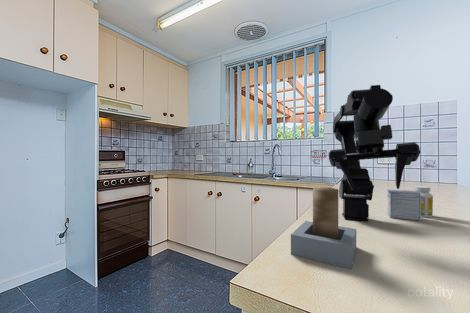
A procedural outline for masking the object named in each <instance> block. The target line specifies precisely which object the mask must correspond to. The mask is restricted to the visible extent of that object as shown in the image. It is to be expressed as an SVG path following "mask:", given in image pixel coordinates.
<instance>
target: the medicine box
mask: <svg viewBox="0 0 470 313" xmlns="http://www.w3.org/2000/svg"><path fill="white" fill-rule="evenodd" d="M387 215H388V216H389V218H390V219H400V220H411V221H421V219H422V217H421V193H419V192H417V191H415V190H409V189H408V190H407V189H406V190H405V189H387Z"/></svg>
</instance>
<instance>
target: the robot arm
mask: <svg viewBox="0 0 470 313" xmlns="http://www.w3.org/2000/svg"><path fill="white" fill-rule="evenodd" d="M393 99H394V97H393V94H392V93H391V92H389V90H386V89H384V88H382V87H381V84H375V85H373V84H372V85H370V86H369V88H367V89H354V90H351V91H350V93H349V94H348V95H347V99H346V103H345V104H343V105H340V110H339V112H338V113H337V114H336V115H335V116H334V118H333V123H332V133H333V134H334V136H335V139H336V140H337V141H338V142H339V143H340V146H341V148H340V149H338V148H337V149H331V150H330V151H329V152H328V160H329V163H330V166H331V167H335V168H336V169H338V170H341V172H342V173H343V175H342V178H341V181H340V183H339V189H338V198H340V199H341V200H342V213H341V215H342V217H343V219H344V220H353V221H365V222H366V221H367V222H369V217H370V216H369V214H370V213H369V211H370V206H369V204H368V202H367V201H372V200H373V193H374V189H375V185H374V184H373V181H372V180H371V178H370V174H369V170H368V169H367V168H366V167H365V168H363V167H362V166H361V162H360V161H361V160H375V159H390V158H391V159H393V158H395V163H394V170H395V175H394V176H395V186H396V190H400V188H401V183H402V177H403V173H404V169H405V166H410V165H411V164H412V162H417V160H418V159H419V156H420V154H421V149H420V145H419V144H418V143H416V142H415V141H414V142H406V143H405V142H404V143H403V142H402V143H396V146H395V148H394V149H384V148H385V141H387V140H388V141H389V140H392V139H393V130H392V125H391V124H386V125H380V120H381V119H383V117H384V115H385V114H386V112H387V111H388V109H389V108H390V106H391V104H392V102H393ZM349 116H352V117H353V118H352V119H353V120H342V119H343V117H349Z"/></svg>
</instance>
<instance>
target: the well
mask: <svg viewBox="0 0 470 313" xmlns="http://www.w3.org/2000/svg"><path fill="white" fill-rule="evenodd" d="M356 251H357V228H352V227H345V226H340V225H338V240H336V239H331V238H325V237H320V236H315V235H313V221H309V220H305V221H304V222H302V224H300V225H299V227H297V228H296V229H295V230H294V231H293V232H292V233H291V234H290V255H293V256H298V257H301V258H306V259H310V260H315V261H317V262H321V263H326V264H330V265H335V266H338V267H342V268H347V269H351V270H352V268H353V264H354V259H355V254H356Z"/></svg>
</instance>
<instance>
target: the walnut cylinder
mask: <svg viewBox="0 0 470 313" xmlns="http://www.w3.org/2000/svg"><path fill="white" fill-rule="evenodd" d="M312 222H313V235H315V236H320V237H325V238H331V239H336V240H338V226H339V189H338V188H336V187H335V188H332V187H324V186H323V187H322V186H321V187H318V186H317V187H313V188H312Z"/></svg>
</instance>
